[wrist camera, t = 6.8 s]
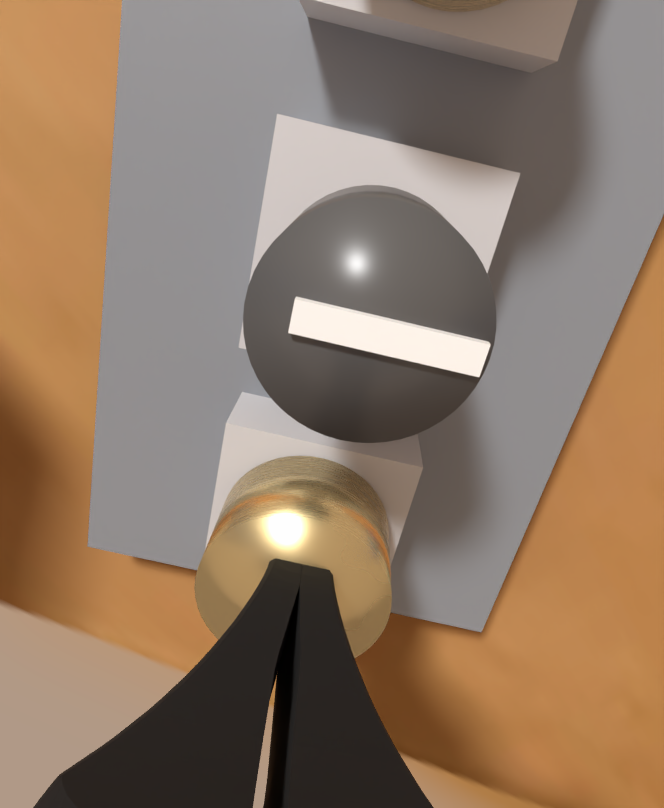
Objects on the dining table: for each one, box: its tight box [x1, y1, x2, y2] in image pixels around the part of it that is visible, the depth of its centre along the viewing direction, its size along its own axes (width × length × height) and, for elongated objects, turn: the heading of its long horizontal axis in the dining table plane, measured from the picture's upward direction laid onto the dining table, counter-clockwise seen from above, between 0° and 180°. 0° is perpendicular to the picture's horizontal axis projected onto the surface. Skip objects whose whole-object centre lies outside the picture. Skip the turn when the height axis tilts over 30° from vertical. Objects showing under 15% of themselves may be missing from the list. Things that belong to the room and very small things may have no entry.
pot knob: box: [243, 185, 496, 443], centre depth 10 cm, size 4×4×5 cm
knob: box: [195, 456, 392, 659], centre depth 15 cm, size 4×4×5 cm
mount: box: [88, 0, 664, 632], centre depth 15 cm, size 13×22×4 cm, turn 167°
